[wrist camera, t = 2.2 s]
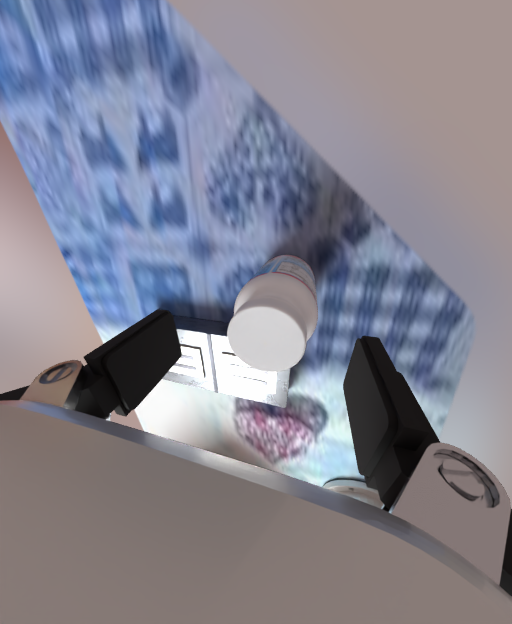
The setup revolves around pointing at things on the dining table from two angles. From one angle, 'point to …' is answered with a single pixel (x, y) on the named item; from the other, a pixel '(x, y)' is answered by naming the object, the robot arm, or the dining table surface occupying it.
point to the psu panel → (222, 365)
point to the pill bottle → (275, 315)
